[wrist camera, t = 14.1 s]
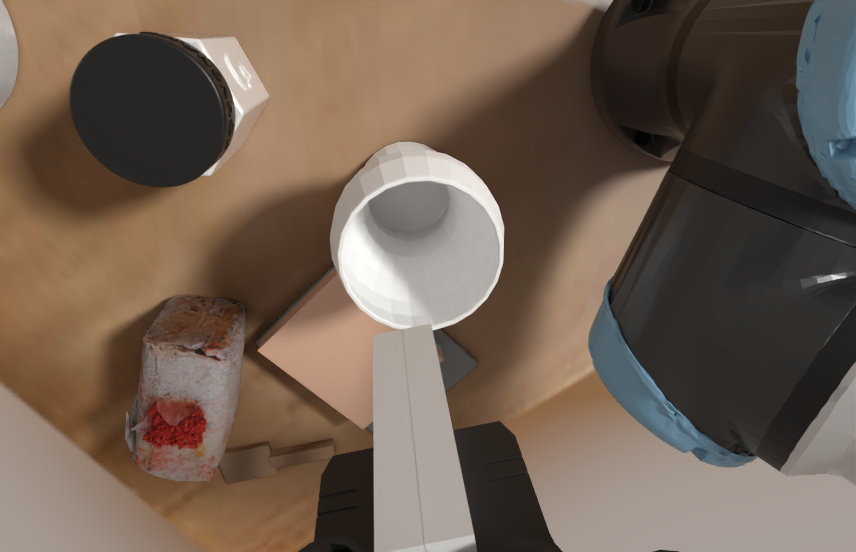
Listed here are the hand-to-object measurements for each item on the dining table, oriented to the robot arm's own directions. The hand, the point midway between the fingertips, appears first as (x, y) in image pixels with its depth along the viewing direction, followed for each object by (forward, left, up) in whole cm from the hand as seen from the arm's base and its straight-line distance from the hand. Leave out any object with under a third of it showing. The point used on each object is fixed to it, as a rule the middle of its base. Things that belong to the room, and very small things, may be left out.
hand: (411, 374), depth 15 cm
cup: (-1, +4, -33) cm, 33 cm away
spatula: (+16, +28, -33) cm, 45 cm away
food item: (+20, +16, -33) cm, 41 cm away
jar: (+12, -6, -33) cm, 35 cm away
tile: (+3, +21, -31) cm, 37 cm away
